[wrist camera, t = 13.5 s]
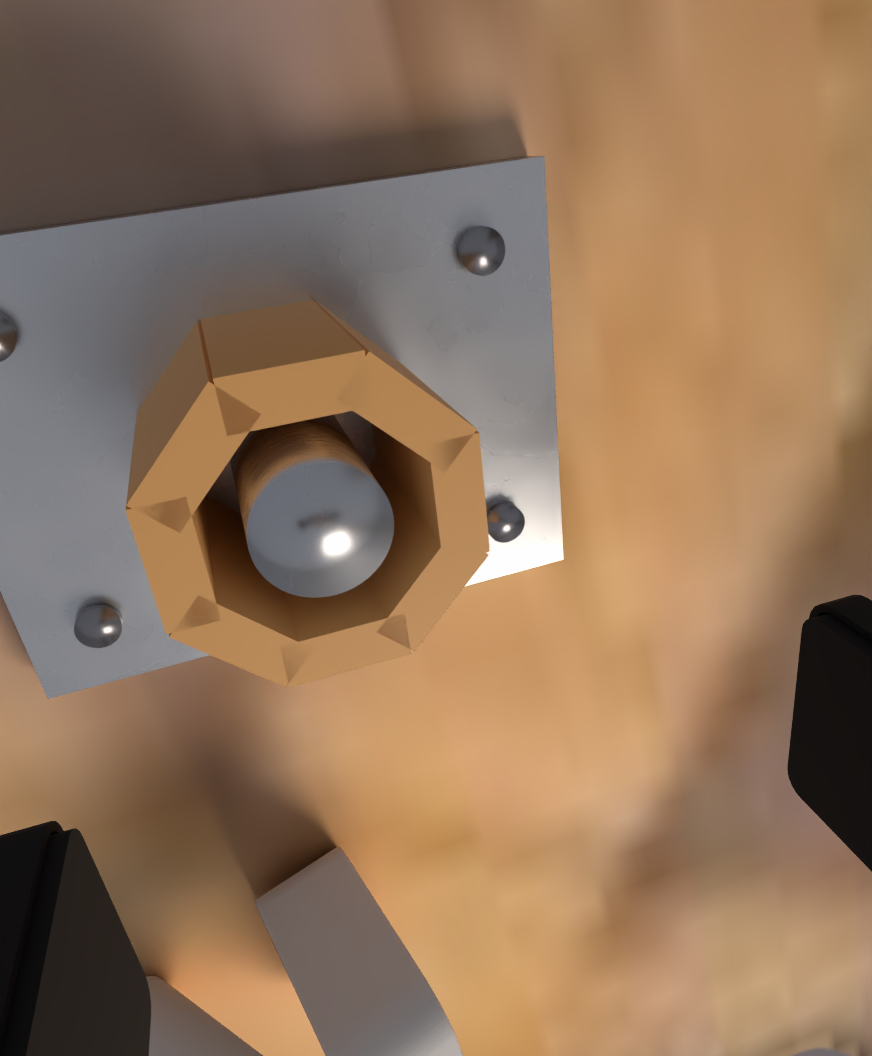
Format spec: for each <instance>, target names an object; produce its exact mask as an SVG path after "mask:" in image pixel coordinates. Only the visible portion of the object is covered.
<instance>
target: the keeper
mask: <svg viewBox="0 0 872 1056" xmlns="http://www.w3.org/2000/svg"><path fill="white" fill-rule="evenodd" d="M310 300H313V301H314V302H315V301H317V302H318V303H319V304H321V305H322V306H324V307H325V308H326V309H328V310H329V311H330V312H332V313H333V314H334V315H336V316H337V317H339V318H340V319H341V320H343V321H344V322H345V323H347V324H348V325H350V326H351V327H352V328H354V329H355V330H356V331H358V332H359V333H360V334H362V335H363V336H365V337H366V338H367V339H369V340H370V341H371V342H373V343H374V344H376V345H377V346H378V347H380V348H381V349H382V350H384V351H385V352H386V353H388V354H389V355H391V356H392V357H393V358H395V359H396V360H397V361H399V362H400V363H401V364H403V365H404V366H405V367H406V368H407V369H408V370H410V371H411V372H412V373H413V374H414V375H415V376H416V377H418V378H419V379H420V380H421V381H422V382H423V383H425V384H426V385H427V386H428V387H429V388H430V389H431V390H433V391H434V392H435V393H436V394H437V395H438V396H440V397H441V398H442V399H443V400H444V401H445V402H446V403H448V404H449V405H450V406H451V407H452V408H453V409H455V410H456V411H457V412H458V413H459V414H460V415H461V416H463V417H464V418H465V419H466V420H467V421H468V422H470V423H471V424H472V425H473V426H474V427H475V428H476V429H477V431H478V432H479V435H480V446H481V457H482V468H483V479H484V490H485V501H486V513H487V524H488V535H489V546H490V552H487V554H488V555H489V556H488V557H487V558H486V560H485V561H484V562H483V563H482V565H481V566H480V567H479V569H478V570H477V571H476V573H475V574H474V575H473V576H472V578H471V579H470V580H469V582H468V583H467V584H466V585H465V586H467V585H471V584H474V583H478V582H482V581H485V580H489V579H493V578H497V577H500V576H504V575H508V574H511V573H515V572H519V571H522V570H526V569H530V568H533V567H537V566H541V565H545V564H548V563H552V562H556V561H559V560H563V541H562V520H561V499H560V477H559V456H558V435H557V414H556V393H555V372H554V351H553V330H552V309H551V288H550V267H549V246H548V225H547V204H546V183H545V162H544V156H527V157H520V158H513V159H506V160H499V161H492V162H485V163H479V164H472V165H465V166H458V167H451V168H444V169H437V170H430V171H423V172H417V173H410V174H403V175H396V176H389V177H382V178H375V179H368V180H362V181H355V182H348V183H341V184H334V185H327V186H320V187H313V188H307V189H300V190H293V191H286V192H279V193H272V194H265V195H258V196H252V197H245V198H238V199H231V200H224V201H217V202H210V203H203V204H196V205H190V206H183V207H176V208H169V209H162V210H155V211H148V212H141V213H135V214H128V215H121V216H114V217H107V218H100V219H93V220H86V221H80V222H73V223H66V224H59V225H52V226H45V227H38V228H31V229H24V230H18V231H11V232H4V233H0V592H1V594H2V596H3V599H4V601H5V603H6V605H7V608H8V610H9V612H10V614H11V617H12V619H13V621H14V623H15V626H16V628H17V630H18V632H19V635H20V637H21V639H22V641H23V644H24V646H25V648H26V651H27V653H28V655H29V657H30V660H31V662H32V664H33V666H34V669H35V671H36V673H37V675H38V678H39V680H40V682H41V684H42V687H43V689H44V691H45V693H46V696H47V698H48V699H49V698H53V697H56V696H60V695H64V694H67V693H71V692H75V691H79V690H82V689H86V688H90V687H93V686H97V685H101V684H104V683H108V682H112V681H116V680H119V679H123V678H127V677H130V676H134V675H138V674H141V673H145V672H149V671H153V670H156V669H160V668H164V667H167V666H171V665H175V664H178V663H182V662H186V661H190V660H193V659H197V658H201V657H204V656H208V655H209V654H207V653H204V652H202V651H200V650H197V649H195V648H193V647H190V646H188V645H186V644H183V643H181V642H179V641H176V640H174V639H172V638H169V634H166V632H165V629H164V626H163V623H162V620H161V617H160V614H159V611H158V608H157V605H156V602H155V599H154V596H153V593H152V590H151V587H150V584H149V581H148V578H147V574H146V571H145V568H144V565H143V562H142V559H141V556H140V553H139V550H138V547H137V544H136V541H135V538H134V535H133V532H132V529H131V526H130V523H129V520H128V516H127V513H126V501H127V493H128V484H129V475H130V467H131V458H132V450H133V441H134V432H135V424H136V416H137V413H138V411H139V410H140V408H141V407H142V405H143V403H144V402H145V400H146V399H147V397H148V396H149V394H150V393H151V391H152V390H153V388H154V387H155V385H156V383H157V382H158V380H159V379H160V377H161V376H162V374H163V373H164V371H165V370H166V368H167V367H168V365H169V363H170V362H171V360H172V359H173V357H174V356H175V354H176V353H177V351H178V350H179V348H180V347H181V345H182V343H183V342H184V340H185V339H186V337H187V336H188V334H189V333H190V331H191V330H192V328H193V327H194V325H195V323H196V322H197V321H198V322H199V323H201V321H200V319H204V318H210V317H216V316H221V315H227V314H233V313H239V312H245V311H251V310H257V309H263V308H269V307H274V306H280V305H286V304H292V303H298V302H304V301H310ZM375 457H376V452H375V445H374V439H373V433H372V426H371V422H369V421H368V420H366V419H365V418H363V417H362V416H360V415H359V414H357V413H356V412H354V411H348V412H344V413H339V414H334V415H329V416H324V417H319V418H314V419H309V420H304V421H299V422H295V423H290V424H285V425H280V426H275V427H270V428H265V429H260V430H255V431H250V432H249V433H248V434H247V436H246V437H245V439H244V440H243V441H242V443H241V444H240V446H239V447H238V449H237V450H236V452H235V453H234V455H233V456H232V458H231V459H230V460H229V462H228V463H227V465H226V466H225V468H224V469H223V471H222V472H221V474H220V475H219V477H218V478H217V480H216V481H215V482H214V484H213V485H212V487H211V488H210V490H209V491H208V493H207V494H206V495H207V496H209V497H211V498H213V499H215V500H217V501H219V502H220V503H222V504H224V505H226V506H228V507H230V508H231V509H233V510H235V511H237V512H239V513H241V516H242V521H243V526H244V530H245V535H246V540H247V545H248V549H249V553H250V556H251V559H252V561H253V563H254V565H255V566H256V568H257V569H258V571H259V572H260V574H261V575H262V576H263V577H264V578H265V579H266V580H267V581H269V582H270V583H271V584H272V585H274V586H275V587H277V588H279V589H280V590H282V591H285V592H287V593H290V594H293V595H297V596H302V597H311V598H319V597H328V596H333V595H337V594H340V593H343V592H346V591H348V590H350V589H352V588H354V587H356V586H358V585H359V584H361V583H362V582H364V581H365V580H366V579H368V578H369V577H370V576H371V575H372V574H373V573H374V572H375V571H376V570H377V569H378V567H379V566H380V565H381V563H382V562H383V560H384V559H385V557H386V555H387V553H388V551H389V549H390V546H391V543H392V539H393V534H394V516H393V511H392V507H391V505H390V502H389V500H388V498H387V496H386V494H385V493H384V491H383V489H382V488H381V486H380V485H379V483H378V482H377V480H376V479H375V477H374V476H373V474H372V473H371V471H370V470H369V468H368V467H369V465H370V464H371V462H372V461H373V460H374V458H375Z"/></svg>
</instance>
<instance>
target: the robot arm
mask: <svg viewBox="0 0 872 1056" xmlns="http://www.w3.org/2000/svg"><path fill="white" fill-rule="evenodd" d="M788 775H789V779H790V782H791V784H792V786H793V788H794V790H795V791H796V793H797V794H798V795H799V796H800V798H801V799H802V800H803V801H804V802H805V803H806V804H807V805H808V806H809V807H810V808H811V809H812V810H813V811H814V812H815V813H816V814H817V815H818V816H819V817H820V818H821V819H822V820H823V821H824V823H825V824H826V825H827V826H828V827H829V828H830V829H831V830H832V831H833V832H834V833H835V834H836V835H837V836H838V837H839V838H840V839H841V840H842V841H843V842H844V843H845V844H846V845H847V846H848V847H849V848H850V849H851V850H852V852H853V853H854V854H855V855H856V856H857V857H858V858H859V859H860V860H861V861H862V862H863V863H864V864H865V865H866V866H867V867H868V868H869V869H870V870H871V871H872V601H871V600H870V599H868V598H866V597H864V596H861V595H851V596H848V597H844V598H841V599H837V600H834V601H830V602H827V603H823V604H820V605H817V606H815V607H814V608H813V610H812V611H811V613H810V617H809V619H808V620H806V621H805V622H804V624H803V627H802V633H801V643H800V652H799V662H798V672H797V681H796V691H795V701H794V710H793V720H792V730H791V739H790V749H789V759H788ZM150 1026H151V997H150V990H149V985H148V981H147V978H146V976H145V973H144V971H143V969H142V967H141V965H140V962H139V960H138V958H137V956H136V953H135V951H134V949H133V947H132V945H131V942H130V940H129V938H128V936H127V934H126V931H125V929H124V927H123V925H122V923H121V920H120V918H119V916H118V914H117V912H116V909H115V907H114V905H113V903H112V900H111V898H110V896H109V894H108V892H107V889H106V887H105V885H104V883H103V881H102V878H101V876H100V874H99V872H98V870H97V867H96V865H95V863H94V861H93V858H92V856H91V854H90V852H89V850H88V847H87V845H86V843H85V841H84V839H83V836H82V835H81V833H80V831H79V830H78V829H71V830H67V831H63V829H62V827H61V826H60V824H58V823H57V822H56V821H50V822H46V823H43V824H39V825H36V826H32V827H29V828H25V829H22V830H18V831H15V832H11V833H7V834H4V835H0V1056H149V1043H150Z"/></svg>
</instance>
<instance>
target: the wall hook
mask: <svg viewBox="0 0 872 1056" xmlns="http://www.w3.org/2000/svg"><path fill="white" fill-rule="evenodd" d="M254 902H255V905H256V907H257V909H258V911H259V914H260V916H261V918H262V920H263V922H264V924H265V926H266V929H267V931H268V933H269V935H270V937H271V939H272V942H273V944H274V946H275V948H276V950H277V952H278V954H279V957H280V959H281V961H282V963H283V965H284V967H285V969H286V972H287V974H288V976H289V978H290V980H291V982H292V984H293V987H294V989H295V991H296V993H297V995H298V997H299V999H300V1002H301V1004H302V1006H303V1008H304V1010H305V1012H306V1015H307V1017H308V1019H309V1021H310V1023H311V1025H312V1027H313V1030H314V1032H315V1034H316V1036H317V1038H318V1040H319V1042H320V1045H321V1047H322V1049H323V1051H324V1053H325V1055H326V1056H463V1054H462V1051H461V1049H460V1046H459V1043H458V1041H457V1038H456V1036H455V1033H454V1031H453V1029H452V1026H451V1024H450V1022H449V1020H448V1018H447V1016H446V1014H445V1012H444V1010H443V1009H442V1007H441V1005H440V1003H439V1001H438V999H437V997H436V996H435V994H434V992H433V990H432V989H431V987H430V985H429V984H428V982H427V980H426V978H425V977H424V975H423V974H422V972H421V971H420V969H419V968H418V966H417V964H416V963H415V961H414V960H413V958H412V957H411V955H410V954H409V952H408V950H407V949H406V947H405V946H404V944H403V943H402V941H401V940H400V938H399V936H398V935H397V933H396V932H395V930H394V929H393V927H392V926H391V924H390V922H389V921H388V919H387V918H386V916H385V915H384V913H383V912H382V910H381V908H380V907H379V905H378V904H377V902H376V901H375V899H374V898H373V896H372V894H371V893H370V891H369V890H368V888H367V887H366V885H365V884H364V882H363V880H362V879H361V877H360V876H359V874H358V873H357V871H356V870H355V868H354V866H353V865H352V863H351V862H350V860H349V859H348V857H347V856H346V854H345V853H344V851H343V850H342V849H341V848H340V847H336V848H335V849H333V850H331V851H330V852H328V853H327V854H325V855H324V856H322V857H321V858H319V859H318V860H316V861H314V862H313V863H311V864H310V865H308V866H307V867H305V868H304V869H302V870H301V871H299V872H298V873H296V874H294V875H293V876H291V877H290V878H288V879H287V880H285V881H284V882H282V883H281V884H279V885H278V886H276V887H274V888H273V889H271V890H270V891H268V892H267V893H265V894H264V895H262V896H261V897H259V898H258V899H256V900H254ZM146 978H147V981H148V985H149V990H150V997H151V1026H150V1043H149V1056H263V1055H261V1054H260V1053H259V1052H257V1051H256V1050H255V1049H253V1048H252V1047H251V1046H250V1045H248V1044H247V1043H246V1042H244V1041H243V1040H242V1039H240V1038H239V1037H238V1036H236V1035H235V1034H234V1033H232V1032H231V1031H230V1030H229V1029H227V1028H226V1027H225V1026H223V1025H222V1024H221V1023H219V1022H218V1021H217V1020H215V1019H214V1018H213V1017H211V1016H210V1015H209V1014H207V1013H206V1012H205V1011H204V1010H202V1009H201V1008H200V1007H198V1006H197V1005H196V1004H194V1003H193V1002H192V1001H190V1000H189V999H188V998H186V997H185V996H184V995H183V994H181V993H180V992H179V991H177V990H176V989H175V988H173V987H172V986H171V985H169V984H168V983H167V982H165V981H164V980H163V979H161V978H160V977H157V976H147V977H146Z"/></svg>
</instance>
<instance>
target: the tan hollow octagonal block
mask: <svg viewBox="0 0 872 1056" xmlns="http://www.w3.org/2000/svg"><path fill="white" fill-rule="evenodd" d="M200 321H201V323H199V322H198V321H197V322H196V323H195V325H194V327H193V328H192V330H191V331H190V333H189V334H188V336H187V337H186V339H185V340H184V342H183V343H182V345H181V347H180V348H179V350H178V351H177V353H176V354H175V356H174V357H173V359H172V360H171V362H170V363H169V365H168V367H167V368H166V370H165V371H164V373H163V374H162V376H161V377H160V379H159V380H158V382H157V383H156V385H155V387H154V388H153V390H152V391H151V393H150V394H149V396H148V397H147V399H146V400H145V402H144V403H143V405H142V407H141V408H140V410H139V411H138V413H137V416H136V424H135V432H134V441H133V450H132V458H131V467H130V475H129V484H128V493H127V501H126V513H127V516H128V520H129V523H130V526H131V529H132V532H133V535H134V538H135V541H136V544H137V547H138V550H139V553H140V556H141V559H142V562H143V565H144V568H145V571H146V574H147V578H148V581H149V584H150V587H151V590H152V593H153V596H154V599H155V602H156V605H157V608H158V611H159V614H160V617H161V620H162V623H163V626H164V629H165V632H166V634H169V638H172V639H174V640H176V641H179V642H181V643H183V644H186V645H188V646H190V647H193V648H195V649H197V650H200V651H202V652H204V653H207V654H209V655H211V656H214V657H216V658H218V659H221V660H223V661H225V662H228V663H230V664H232V665H234V666H237V667H239V668H241V669H244V670H246V671H248V672H251V673H253V674H255V675H258V676H260V677H262V678H265V679H267V680H269V681H272V682H274V683H276V684H279V685H281V686H283V687H286V686H287V685H288V683H289V687H294V686H297V685H301V684H304V683H308V682H312V681H315V680H319V679H322V678H326V677H329V676H333V675H337V674H340V673H344V672H347V671H351V670H354V669H358V668H362V667H365V666H369V665H372V664H376V663H380V662H383V661H387V660H390V659H394V658H397V657H401V656H405V655H408V654H411V650H413V651H415V650H416V649H417V648H418V646H419V645H420V644H421V642H422V641H423V640H424V639H425V637H426V636H427V635H428V633H429V632H430V631H431V629H432V628H433V627H434V626H435V624H436V623H437V622H438V620H439V619H440V618H441V617H442V615H443V614H444V613H445V611H446V610H447V609H448V607H449V606H450V605H451V604H452V602H453V601H454V600H455V598H456V597H457V596H458V595H459V593H460V592H461V591H462V589H463V588H464V587H465V585H466V584H467V583H468V582H469V580H470V579H471V578H472V576H473V575H474V574H475V573H476V571H477V570H478V569H479V567H480V566H481V565H482V563H483V562H484V561H485V560H486V558H487V557H488V556H489V555H488V554H487V552H490V546H489V535H488V524H487V513H486V501H485V490H484V479H483V468H482V457H481V446H480V435H479V432H478V431H477V429H476V428H475V427H474V426H473V425H472V424H471V423H470V422H468V421H467V420H466V419H465V418H464V417H463V416H461V415H460V414H459V413H458V412H457V411H456V410H455V409H453V408H452V407H451V406H450V405H449V404H448V403H446V402H445V401H444V400H443V399H442V398H441V397H440V396H438V395H437V394H436V393H435V392H434V391H433V390H431V389H430V388H429V387H428V386H427V385H426V384H425V383H423V382H422V381H421V380H420V379H419V378H418V377H416V376H415V375H414V374H413V373H412V372H411V371H410V370H408V369H407V368H406V367H405V366H404V365H403V364H401V363H400V362H399V361H397V360H396V359H395V358H393V357H392V356H391V355H389V354H388V353H386V352H385V351H384V350H382V349H381V348H380V347H378V346H377V345H376V344H374V343H373V342H371V341H370V340H369V339H367V338H366V337H365V336H363V335H362V334H360V333H359V332H358V331H356V330H355V329H354V328H352V327H351V326H350V325H348V324H347V323H345V322H344V321H343V320H341V319H340V318H339V317H337V316H336V315H334V314H333V313H332V312H330V311H329V310H328V309H326V308H325V307H324V306H322V305H321V304H319V303H318V302H317V301H315V302H314V301H313V300H310V301H304V302H298V303H292V304H286V305H280V306H274V307H269V308H263V309H257V310H251V311H245V312H239V313H233V314H227V315H221V316H216V317H210V318H204V319H200ZM348 411H354V412H356V413H357V414H359V415H360V416H362V417H363V418H365V419H366V420H368V421H369V422H371V426H372V433H373V439H374V445H375V452H376V457H375V458H374V460H373V461H372V462H371V464H370V465H369V467H368V468H369V470H370V471H371V473H372V474H373V476H374V477H375V479H376V480H377V482H378V483H379V485H380V486H381V488H382V489H383V491H384V493H385V494H386V496H387V498H388V500H389V502H390V505H391V507H392V511H393V516H394V534H393V539H392V543H391V546H390V549H389V551H388V553H387V555H386V557H385V559H384V560H383V562H382V563H381V565H380V566H379V567H378V569H377V570H376V571H375V572H374V573H373V574H372V575H371V576H370V577H369V578H368V579H366V580H365V581H364V582H362V583H361V584H359V585H358V586H356V587H354V588H352V589H350V590H348V591H346V592H343V593H340V594H337V595H333V596H328V597H319V598H311V597H302V596H297V595H293V594H290V593H287V592H285V591H282V590H280V589H279V588H277V587H275V586H274V585H272V584H271V583H270V582H269V581H267V580H266V579H265V578H264V577H263V576H262V575H261V574H260V572H259V571H258V569H257V568H256V566H255V565H254V563H253V561H252V559H251V556H250V553H249V549H248V545H247V540H246V535H245V530H244V526H243V521H242V516H241V513H239V512H237V511H235V510H233V509H231V508H230V507H228V506H226V505H224V504H222V503H220V502H219V501H217V500H215V499H213V498H211V497H209V496H207V495H206V494H207V493H208V491H209V490H210V488H211V487H212V485H213V484H214V482H215V481H216V480H217V478H218V477H219V475H220V474H221V472H222V471H223V469H224V468H225V466H226V465H227V463H228V462H229V460H230V459H231V458H232V456H233V455H234V453H235V452H236V450H237V449H238V447H239V446H240V444H241V443H242V441H243V440H244V439H245V437H246V436H247V434H248V433H249V432H250V431H255V430H260V429H265V428H270V427H275V426H280V425H285V424H290V423H295V422H299V421H304V420H309V419H314V418H319V417H324V416H329V415H334V414H339V413H344V412H348Z"/></svg>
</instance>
